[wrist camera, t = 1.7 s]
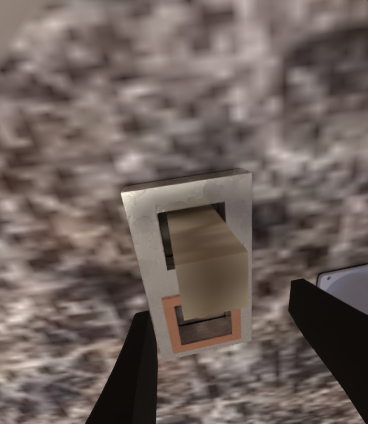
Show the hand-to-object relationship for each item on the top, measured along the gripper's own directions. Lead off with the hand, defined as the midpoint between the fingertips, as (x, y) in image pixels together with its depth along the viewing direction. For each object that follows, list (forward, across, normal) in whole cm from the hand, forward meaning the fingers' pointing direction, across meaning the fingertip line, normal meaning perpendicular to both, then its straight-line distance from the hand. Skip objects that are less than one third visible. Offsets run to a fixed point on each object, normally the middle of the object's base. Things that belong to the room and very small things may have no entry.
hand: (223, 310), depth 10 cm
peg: (+10, 0, 0) cm, 10 cm away
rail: (+10, 0, +5) cm, 11 cm away
